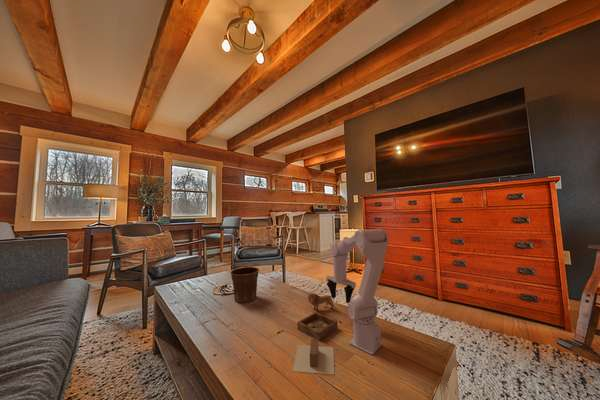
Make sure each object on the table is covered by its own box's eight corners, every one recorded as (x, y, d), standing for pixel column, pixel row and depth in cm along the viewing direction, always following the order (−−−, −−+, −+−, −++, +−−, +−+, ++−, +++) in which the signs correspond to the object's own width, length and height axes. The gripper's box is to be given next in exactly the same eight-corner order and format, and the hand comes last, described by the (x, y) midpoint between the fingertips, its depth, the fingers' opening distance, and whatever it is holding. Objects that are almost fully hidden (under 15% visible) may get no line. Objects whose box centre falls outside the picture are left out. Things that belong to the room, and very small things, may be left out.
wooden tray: (337, 328, 90) (337, 321, 90) (319, 341, 82) (319, 333, 82) (315, 318, 99) (315, 312, 99) (297, 329, 90) (297, 322, 90)
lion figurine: (310, 314, 103) (310, 295, 103) (306, 310, 108) (305, 291, 108) (336, 308, 108) (336, 290, 109) (331, 304, 113) (331, 287, 114)
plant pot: (224, 303, 117) (224, 273, 118) (240, 292, 133) (240, 266, 134) (250, 306, 113) (250, 275, 114) (264, 294, 128) (263, 267, 129)
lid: (333, 349, 78) (333, 335, 78) (334, 377, 65) (334, 360, 65) (298, 347, 79) (297, 333, 80) (292, 373, 66) (292, 357, 67)
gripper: (358, 270, 95) (359, 301, 94) (332, 265, 105) (332, 293, 104) (350, 274, 90) (351, 307, 89) (323, 268, 100) (324, 297, 99)
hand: (340, 300), depth 96 cm, fingers open, 7 cm apart
